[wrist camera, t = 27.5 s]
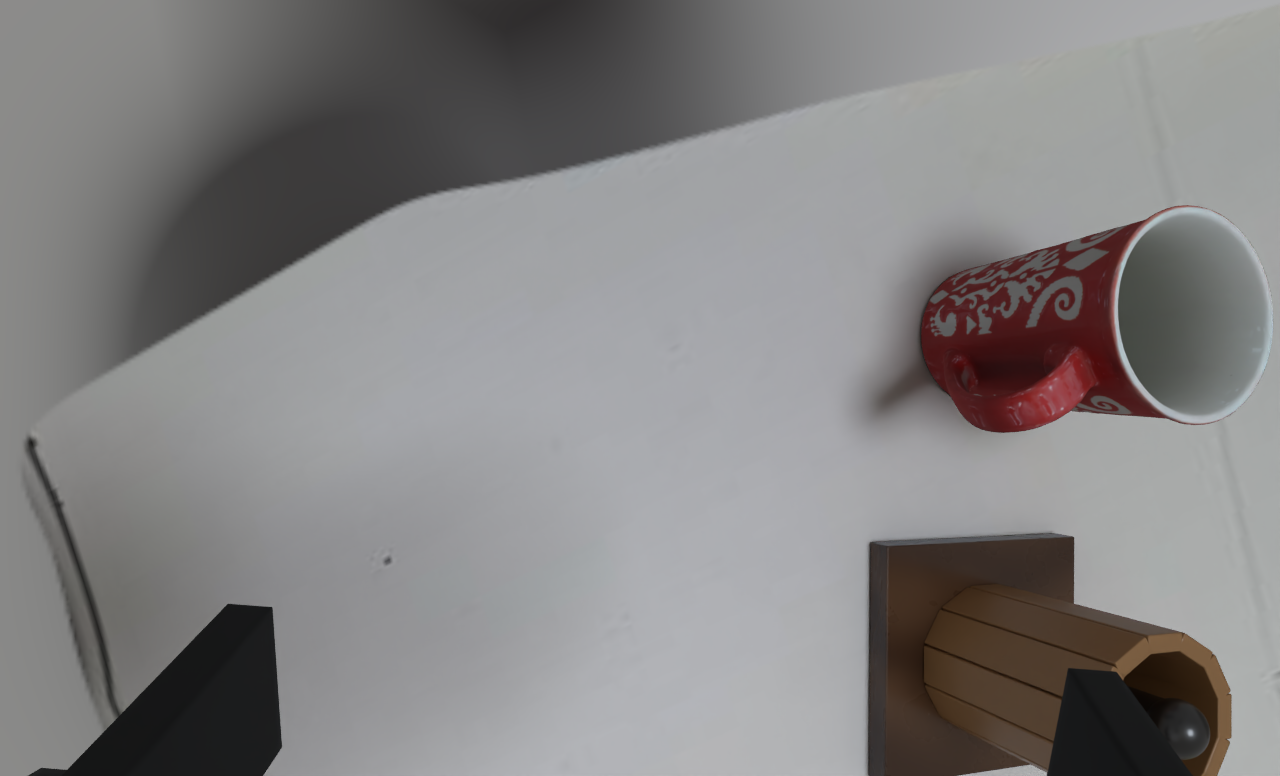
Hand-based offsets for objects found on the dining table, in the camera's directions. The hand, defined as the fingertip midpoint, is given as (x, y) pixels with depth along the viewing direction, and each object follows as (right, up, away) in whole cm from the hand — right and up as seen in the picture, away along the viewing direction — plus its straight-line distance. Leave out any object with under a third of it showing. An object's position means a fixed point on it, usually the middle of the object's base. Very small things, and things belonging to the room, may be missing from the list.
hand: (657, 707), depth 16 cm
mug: (+16, +7, +35) cm, 40 cm away
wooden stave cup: (+18, -9, +34) cm, 39 cm away
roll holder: (+17, -9, +35) cm, 40 cm away
